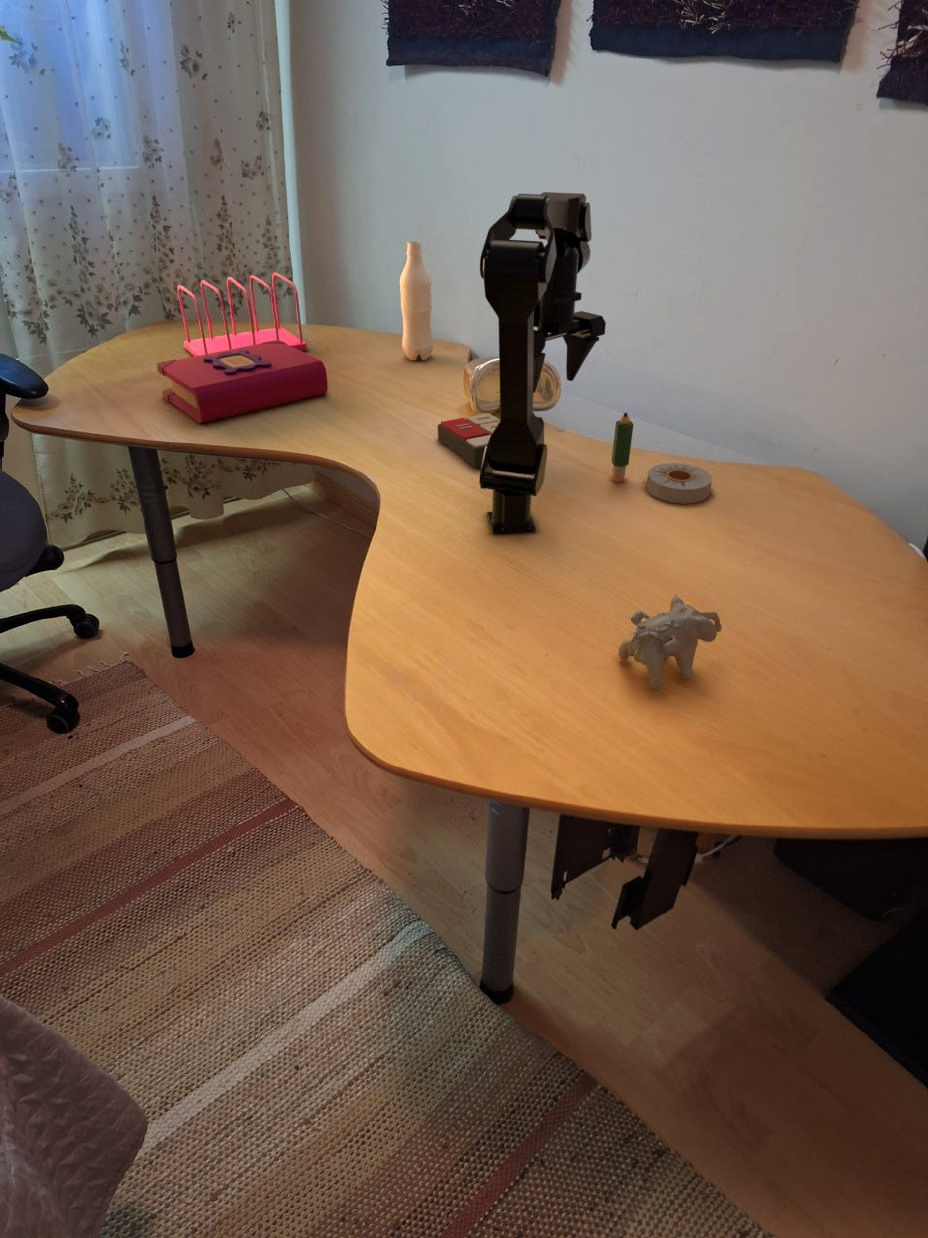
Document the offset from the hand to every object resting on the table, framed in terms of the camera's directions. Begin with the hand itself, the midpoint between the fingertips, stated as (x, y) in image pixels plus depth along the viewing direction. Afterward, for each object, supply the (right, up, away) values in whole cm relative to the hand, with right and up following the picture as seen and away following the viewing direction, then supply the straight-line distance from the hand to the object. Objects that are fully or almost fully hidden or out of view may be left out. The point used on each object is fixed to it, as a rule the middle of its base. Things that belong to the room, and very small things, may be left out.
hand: (551, 386), depth 131 cm
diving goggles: (-5, +4, +30) cm, 31 cm away
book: (-60, +8, +37) cm, 71 cm away
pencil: (+11, -15, +3) cm, 19 cm away
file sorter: (-67, +27, +64) cm, 97 cm away
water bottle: (-25, +24, +58) cm, 68 cm away
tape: (+21, -17, -1) cm, 27 cm away
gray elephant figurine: (+9, -43, -38) cm, 58 cm away
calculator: (-11, -7, +14) cm, 19 cm away
